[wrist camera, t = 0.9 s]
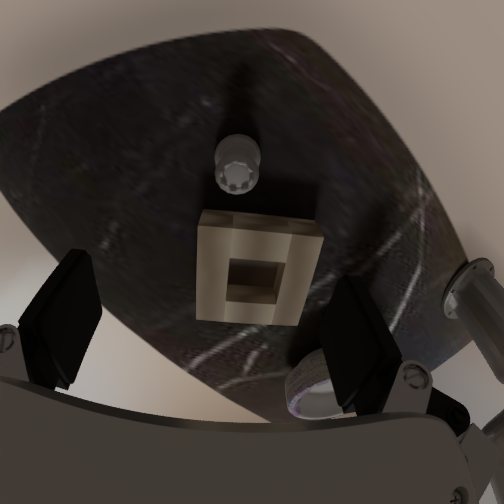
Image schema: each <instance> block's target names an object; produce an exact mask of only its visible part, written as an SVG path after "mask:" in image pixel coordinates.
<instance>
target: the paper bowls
mask: <svg viewBox="0 0 504 504" xmlns="http://www.w3.org/2000/svg"><path fill="white" fill-rule="evenodd" d="M285 392H286V400H287V407H288V410H289V411H290V413H291V414H292V415H294V416H296V417H299V418H303V419H325V418H330V417H334V416H338V415H341V414H343V410H342V407H340V406H338V404H337V401H336V397H335V393H334V389H333V386H332V382H331V378H330V375H329V371H328V368H327V364H326V361H325V357H324V354H323V350H322V348H320V349H317V350H315V351H313V352H311V353H309V354H308V355H307V356H305V357H304V358H303V359H302V360H301V361H300V362H299V364H298V366H296V367H295V368H294V369H293V370H292V371H291V372H290V373H289V374H288V375H287V377H286V380H285Z"/></svg>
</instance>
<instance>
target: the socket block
mask: <svg viewBox="0 0 504 504" xmlns="http://www.w3.org/2000/svg"><path fill="white" fill-rule="evenodd" d="M323 239H324V237H323V235H322V233H321V232H320V230H319V228H318V226H317V224H316V222H315V221H314V220H307V219H299V218H290V217H281V216H272V215H263V214H253V213H243V212H232V211H221V210H210V209H203V211H202V214H201V217H200V221H199V224H198V240H197V282H196V319H199V320H210V321H222V322H235V323H250V324H268V325H294V326H297V325H298V322H299V319H300V316H301V313H302V310H303V307H304V304H305V300H306V297H307V294H308V291H309V287H310V284H311V281H312V278H313V274H314V271H315V267H316V264H317V260H318V257H319V253H320V250H321V246H322V243H323Z"/></svg>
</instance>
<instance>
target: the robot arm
mask: <svg viewBox="0 0 504 504" xmlns="http://www.w3.org/2000/svg"><path fill="white" fill-rule="evenodd" d="M442 310H443V312H444V313H445V315H446V316H447V317H449V318H452V319H456V318H459V320H460V321H461V322H462V324H463V325H464V327H465V328H466V330H467V331H468V333H469V334H470V336H471V337H472V339H473V340H474V342H475V343H476V345H477V347H478V348H479V350H480V351H481V353H482V354H483V356H484V358H485V359H486V361H487V363H488V364H489V366H490V368H491V369H492V371H493V373H494V375H495V376H496V378H497V379H498V380H499V381H500V382H501V383H502V384H504V288H503V287H502V286H501V285H500V284H499V283H498V282H497V280H496V279H494V266H493V264H492V263H491V262H490V261H489V260H488V259H486V258H478V259H475V260H473V261H471V262H469V263H468V264H467V265H465V266H464V267H463V268H462V269H461V270H460V271H459V272H458V273H457V274H456V275H455V277H454V278H453V279H452V281H451V282H450V284H449V286H448V287H447V289H446V291H445V294H444V297H443V300H442ZM101 316H102V306H101V302H100V298H99V293H98V289H97V285H96V280H95V275H94V270H93V265H92V260H91V256H90V255H89V254H87V252H86V251H85V250H80V249H71V250H70V251H69V252H68V253H67V255H66V256H65V257H64V258H63V260H62V261H61V262H60V263H59V265H58V266H57V267H56V269H55V270H54V271H53V272H52V274H51V275H50V276H49V277H48V279H47V280H46V281H45V283H44V284H43V285H42V287H41V288H40V290H39V291H38V292H37V294H36V295H35V297H34V298H33V299H32V301H31V302H30V304H29V305H28V307H27V308H26V310H25V311H24V313H23V314H22V316H21V317H20V319H19V320H18V322H19V326H18V328H16V327H15V326H13V325H11V324H4V325H1V326H0V504H479V500H480V498H481V497H482V495H483V493H484V491H485V489H486V488H487V486H488V484H489V482H490V483H491V485H492V488H493V491H494V494H495V497H496V500H497V503H498V504H504V410H503V411H501V412H500V413H499V414H498V415H497V416H495V417H494V418H493V419H492V420H491V421H489V422H488V423H487V424H486V426H484V428H483V429H482V430H480V429H479V428H478V427H477V426H476V425H475V424H474V423H472V424H471V425H470V415H469V412H468V410H467V409H466V407H465V406H464V405H462V404H461V403H459V402H457V401H456V400H454V399H452V398H451V397H449V396H447V395H446V394H444V393H442V392H440V391H439V390H437V389H435V388H434V387H432V382H433V379H432V376H431V373H430V372H429V370H428V369H427V368H426V367H425V366H424V365H423V364H421V363H419V362H417V361H412V360H409V361H405V362H402V359H401V357H402V354H401V352H400V350H399V348H398V346H397V344H396V342H395V340H394V338H393V336H392V334H391V332H390V330H389V329H388V327H387V325H386V323H385V321H384V319H383V317H382V315H381V313H380V312H379V310H378V308H377V306H376V304H375V302H374V301H373V299H372V297H371V295H370V293H369V292H368V290H367V288H366V286H365V285H364V283H363V281H362V279H361V278H360V277H359V276H350V275H345V276H344V277H343V278H342V279H339V280H338V282H337V285H336V288H335V290H334V293H333V295H332V298H331V300H330V303H329V305H328V308H327V310H326V313H325V315H324V317H323V320H322V322H321V324H320V327H319V330H318V336H319V340H320V343H321V347H322V350H323V354H324V357H325V361H326V364H327V368H328V371H329V375H330V378H331V382H332V386H333V389H334V393H335V397H336V401H337V404H338V406H340V407H342V410H343V414H345V413H352V412H356V414H357V416H356V417H349V418H339V419H329V420H318V421H305V422H287V423H233V422H214V421H201V420H190V419H181V418H173V417H165V416H158V415H153V414H146V413H141V412H135V411H130V410H125V409H120V408H116V407H111V406H107V405H103V404H99V403H95V402H92V401H88V400H84V399H81V398H77V397H74V396H70V395H67V394H64V393H60V392H57V391H54V390H55V387H59V388H62V389H65V390H68V389H69V386H70V384H73V383H74V381H75V379H76V376H77V373H78V371H79V368H80V366H81V363H82V360H83V358H84V356H85V353H86V351H87V348H88V346H89V343H90V341H91V339H92V336H93V334H94V332H95V330H96V327H97V325H98V323H99V321H100V319H101Z"/></svg>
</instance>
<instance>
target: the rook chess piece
mask: <svg viewBox="0 0 504 504" xmlns="http://www.w3.org/2000/svg"><path fill="white" fill-rule="evenodd" d="M214 159H215V164H216V170H215V178H216V182H217V183H218V185H219V186H220V188H221V189H223V190H224V191H226V192H227V193H231V194H243V193H246V192H248V191H249V190H251V189H252V188H253V187H254V186H255V184H256V183H257V181H258V177H259V170H258V168H259V164H260V161H261V154H260V148H259V147H258V145H257V143H256V142H255V141H254V140H253V139H251V138H250V137H248V136H245V135H241V134H235V135H229V136H228V137H226V138H224V139H223V140H221V142H220V143H219V144H218V146H217V147H216V151H215V155H214Z"/></svg>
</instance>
